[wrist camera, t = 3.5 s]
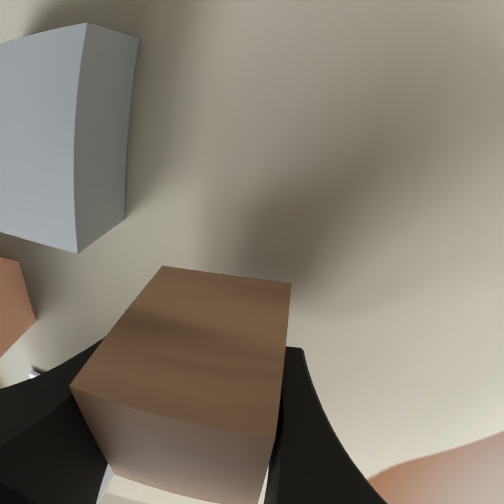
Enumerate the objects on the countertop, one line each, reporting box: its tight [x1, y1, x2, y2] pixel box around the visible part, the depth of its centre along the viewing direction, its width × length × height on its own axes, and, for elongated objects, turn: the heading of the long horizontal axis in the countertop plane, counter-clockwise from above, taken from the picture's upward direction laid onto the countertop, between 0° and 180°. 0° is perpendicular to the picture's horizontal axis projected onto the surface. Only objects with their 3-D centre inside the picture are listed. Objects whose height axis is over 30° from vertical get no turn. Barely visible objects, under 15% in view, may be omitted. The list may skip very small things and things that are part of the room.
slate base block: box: [0, 22, 140, 254], centre depth 11 cm, size 8×8×4 cm
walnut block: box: [69, 266, 291, 504], centre depth 9 cm, size 4×4×6 cm
